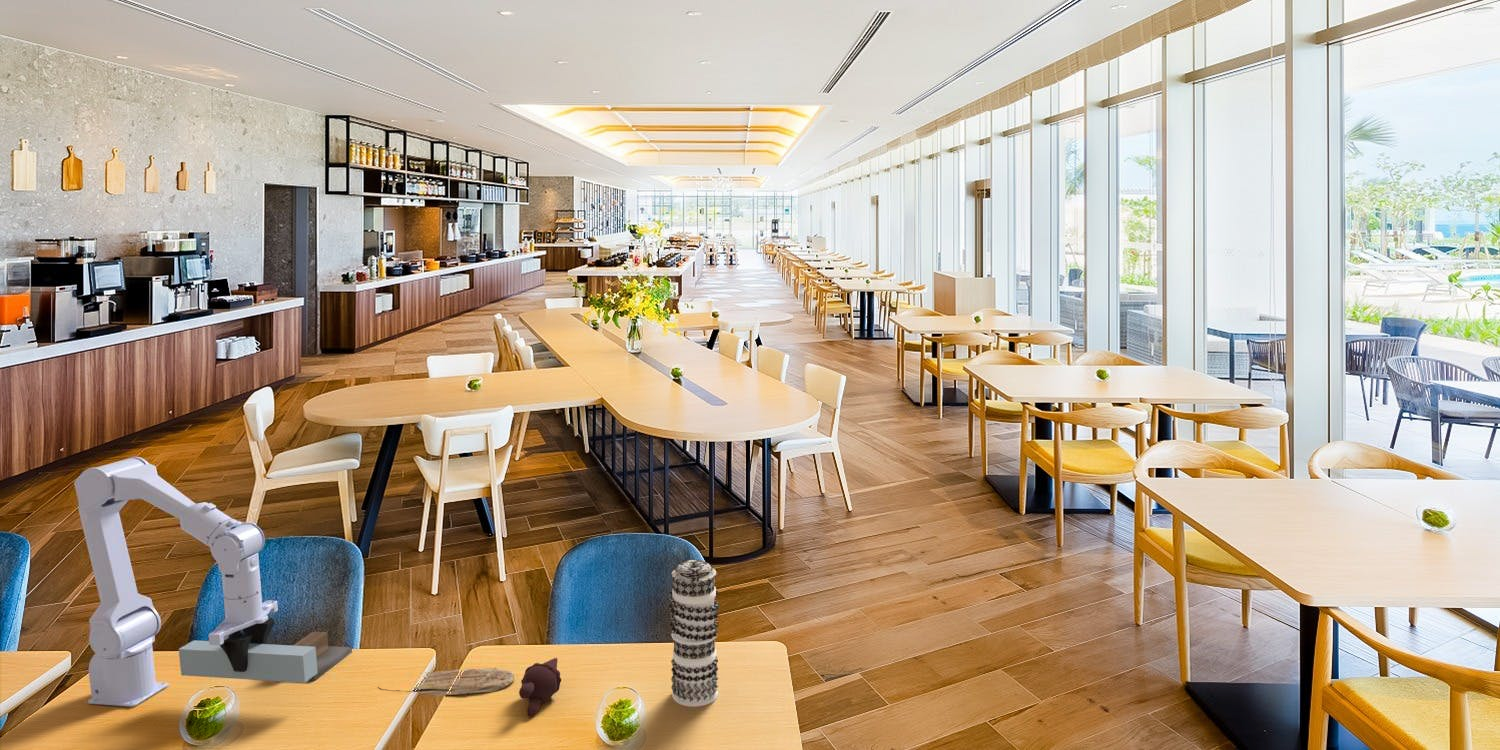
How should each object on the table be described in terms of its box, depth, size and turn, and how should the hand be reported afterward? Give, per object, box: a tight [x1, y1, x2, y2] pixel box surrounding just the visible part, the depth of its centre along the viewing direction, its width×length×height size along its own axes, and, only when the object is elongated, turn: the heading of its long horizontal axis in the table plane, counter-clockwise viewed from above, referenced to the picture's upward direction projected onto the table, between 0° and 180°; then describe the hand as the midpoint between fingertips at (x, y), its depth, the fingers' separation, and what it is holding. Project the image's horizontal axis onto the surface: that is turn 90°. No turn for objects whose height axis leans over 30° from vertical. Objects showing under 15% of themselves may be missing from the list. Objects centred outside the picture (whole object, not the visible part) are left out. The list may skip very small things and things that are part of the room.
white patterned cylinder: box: [667, 559, 720, 708], centre depth 152 cm, size 9×9×25 cm
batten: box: [178, 639, 318, 683], centre depth 150 cm, size 24×4×5 cm, turn 83°
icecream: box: [518, 657, 562, 718], centre depth 152 cm, size 7×7×15 cm
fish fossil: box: [413, 667, 515, 697], centre depth 159 cm, size 26×10×1 cm, turn 96°
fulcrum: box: [292, 631, 353, 682], centre depth 165 cm, size 12×12×4 cm
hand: (248, 665), depth 150 cm, fingers closed on batten, 3 cm apart
